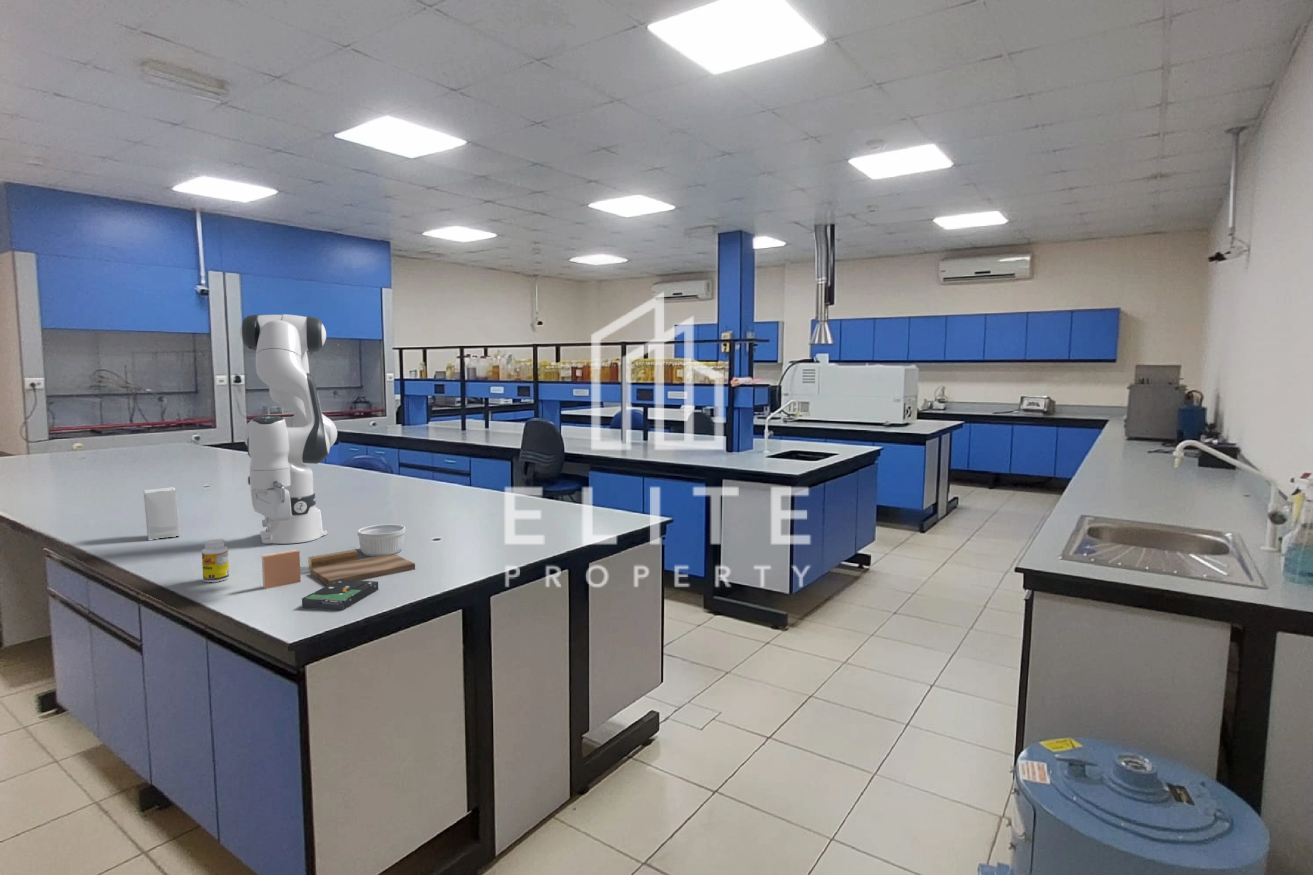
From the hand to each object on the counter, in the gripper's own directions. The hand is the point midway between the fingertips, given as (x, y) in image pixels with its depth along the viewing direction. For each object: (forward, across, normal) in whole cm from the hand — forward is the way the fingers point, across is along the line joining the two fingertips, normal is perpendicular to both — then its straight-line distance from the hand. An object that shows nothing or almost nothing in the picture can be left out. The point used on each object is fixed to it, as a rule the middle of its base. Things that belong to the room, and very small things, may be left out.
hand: (272, 533), depth 169 cm
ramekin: (+12, +9, -31) cm, 34 cm away
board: (+12, -8, -19) cm, 24 cm away
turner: (+12, +3, -11) cm, 17 cm away
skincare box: (+11, +72, +13) cm, 74 cm away
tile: (+12, -5, 0) cm, 13 cm away
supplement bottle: (+12, +10, +11) cm, 19 cm away
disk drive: (+13, -26, -7) cm, 30 cm away
